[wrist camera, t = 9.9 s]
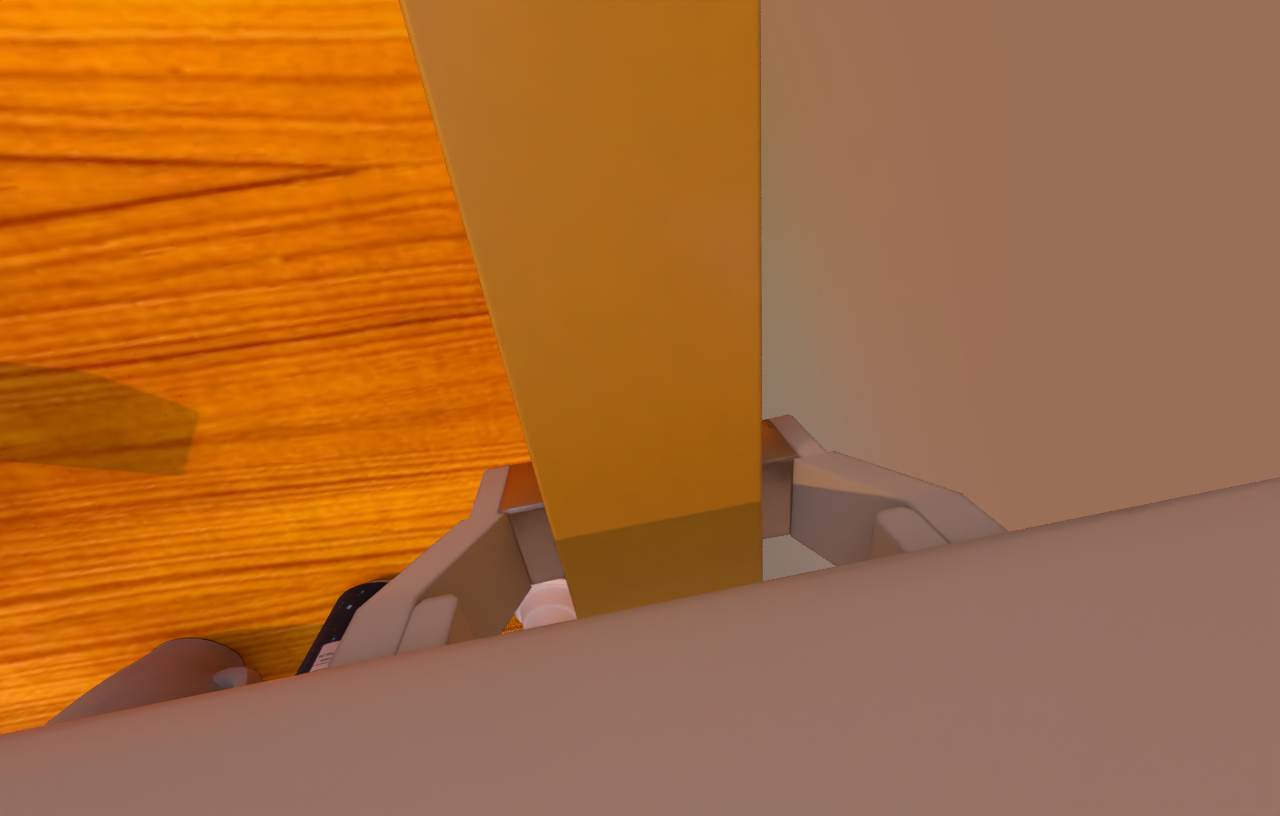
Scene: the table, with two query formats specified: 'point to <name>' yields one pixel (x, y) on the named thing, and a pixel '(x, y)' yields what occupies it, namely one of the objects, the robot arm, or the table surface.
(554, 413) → the bar
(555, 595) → the candle
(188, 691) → the mug
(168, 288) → the table surface
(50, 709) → the table surface
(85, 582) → the table surface
